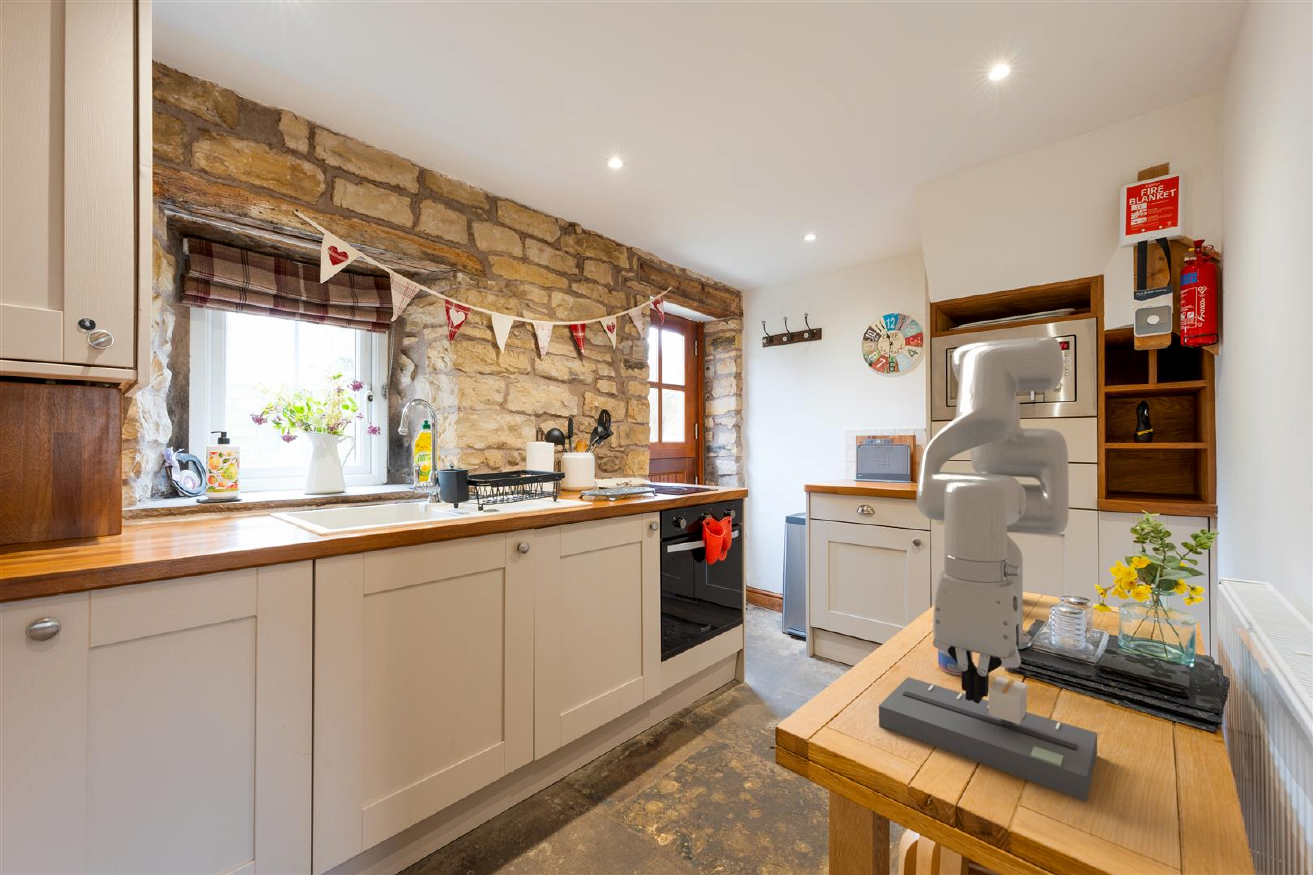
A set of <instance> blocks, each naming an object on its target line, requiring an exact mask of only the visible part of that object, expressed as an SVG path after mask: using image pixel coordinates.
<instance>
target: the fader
mask: <svg viewBox="0 0 1313 875" xmlns="http://www.w3.org/2000/svg"><path fill="white" fill-rule="evenodd" d="M988 701H989V715H991V716H994V717H997V718H1000V719H1001V723H1002V724H1005V725H1008V726H1011V727H1013V726H1014V724H1015V723H1016V724H1020V723H1021V721H1022V719H1023V716H1024V714H1025V712H1027V710H1028V684H1027V683H1025V682H1022V681H1021V682H1020V681H1017V680H1015V679H1012V678H1007V677H1003V676H998V675H997V676H996V677H995V679H994V681H993V682H992V684H991V685H990V686H989V691H988Z"/></svg>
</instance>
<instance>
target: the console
mask: <svg viewBox="0 0 1313 875" xmlns="http://www.w3.org/2000/svg"><path fill="white" fill-rule="evenodd" d="M878 726H879V727H881V728H884V729H887V730H890V731H893V732H895V733H897V734H899V735H902V736H906V737H908V738H910V739H914V740H916V741H919V742H923V743H925V744H927V745H930V746H933V747H936V748H938V749H940V750H944V751H947V752H949V753H952V754H954V755H958V756H960V757H962V758H965V759H968V760H971V761H974V762H976V763H979V764H982V765H984V766H986V767H987V766H988V767H991V768H993V769H996V770H998V771H1002V772H1004V773H1007V774H1009V775H1012V776H1015V777H1017V778H1019V779H1020V778H1021V779H1022V780H1026V781H1028V782H1031V783H1034V784H1036V785H1039V786H1041V787H1044V788H1047V789H1051V790H1053V791H1056V792H1058V793H1060V794H1064V795H1067V796H1069V797H1071V798H1075V799H1078V800H1080V801H1083V802H1085V803H1087V802H1088V798H1089V794H1090V793H1089V792H1090V788H1091V783H1092V779H1093V774H1094V770H1095V765H1096V761H1097V757H1098V732H1096V731H1093V730H1090V729H1085V728H1081V727H1078V726H1076V725H1072V724H1068V723H1065V722H1062V721H1058V720H1055V719H1051V718H1048V717H1044V716H1042V715H1038V714H1034V713H1031V712H1028V711H1026V712H1025V714H1024V716H1023V719H1022V721H1021V723H1020V724H1016V723H1015V724H1014V726H1013V727H1011V726H1008V725H1005V724H1002V723H1001V719H1000V718H997V717H994V716H991V715H989V699H988V700H987V699H982V700H981V701H980V703H979V704H978V703H975V702H974V701H973V700H971V701H968V700H966V693H964V692H960V691H958V690H957V691H956V690H953V689H950V688H946V687H943V686H940V685H936V684H933V683H931V682H930V683H929V682H926V681H923V680H920V679H915V678H914V677H913V678H912V677H911V676H910V677H909V676H907V677H906V678H904V680H903V681H902V682H901V683H900V684H899V685H898V686H897V687H896V688H895V689H894V690H893V691H892V692H891V693H890V694H889V695H888V696H887V697H886V698H885V699H884V700H883V701H882V702H881V703H880V704H879V705H878Z"/></svg>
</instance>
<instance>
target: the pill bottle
mask: <svg viewBox="0 0 1313 875" xmlns="http://www.w3.org/2000/svg"><path fill="white" fill-rule="evenodd" d="M971 652H972V651H971ZM972 653H973V652H972ZM937 656H938V658H937V660H938V661H937V663H938V667H939V669H940V670H942V671H943V672H945V673H947V674H950V675H954V676H962V670H960V669H959V667H958V664H957V663H956V661H955V660H954V659H953V658H952V657H951V656H950V654H949V653H947V652H944V651H942V650H940V649H938V648H937Z"/></svg>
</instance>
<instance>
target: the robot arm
mask: <svg viewBox="0 0 1313 875" xmlns="http://www.w3.org/2000/svg"><path fill="white" fill-rule="evenodd" d="M1063 354H1064V353H1063V350H1062V346H1061V343H1060V342H1059V340H1058V339H1057V338H1055V337H1054V336H1035V337H1034V336H1033V337H1024V338H1023V337H1021V338H1011V339H1009V338H1008V339H996V340H995V339H994V340H993V339H992V340H986V341H985V340H984V341H976V342H970V343H967V344H963V345H960V346H958V347H957V348H956V349H954V351H953V353H952V355H951V366H952V372H953V373H954V377H955V379H956V381H957V383H958V386H957V388H958V389H957V399H956V409H955V418H953V419H952V420H951V421H949V422H948V423H946V424H945V425H944V426H943V427H942V428H941V429H939V430H938V432H936V433H935V434H934V435H933V437H932V438H931V439H930V440H929V441H928V442H927V445H926V446H925V448H924V450H923V451H922V453H921V454H922V455H921V457H920V462H919V470H918V478H917V485H916V504H917V507H918V510H919V512H920V513H921V514H922V515H923V516H924V517H926V518H928V519H930V520H935V521H941V522H942V521H943V522H944V524H943V525H944V527H943V528H944V533H943V534H944V543H943V544H944V548H943V549H944V570H943V571H941V572H940V573H939V577H938V580H937V586H936V591H935V598H934V607H933V616H932V617H933V618H932V621H933V622H932V630H933V631H932V634H933V637H934V638H933V641H932V646H933V647H934V648H936V649H937V650H938V649H940V650H942V651H944V652H947V653H949V654H950V656H951V657H952V658H953V659H954V660H955V661H956V663H957V664H958V667H959V669H960V670H962V675H961V691H965V694H966V700H968V701H971V700H973V701H974V702H975V703H978V704H979V703H980V701H981V700H982V699H983V698H987V697H989V688H990V686H989V682H990V681H989V680H990V679H989V675H990V673H991V672H993V671H995V670H997V669H998V668H1012V669H1013V668H1014V669H1017V668H1019V667H1020V666H1021V663H1022V661H1021V657H1020V656H1021V655H1020V652H1019V650H1018V649H1019V647H1020V643H1022V642H1029V639H1030V638H1032V636H1031V635H1030V634H1028V633H1027V632H1026V631H1024V630H1023V627H1024V626H1023V625H1024V620H1023V618H1024V617H1023V615H1024V614H1023V613H1024V610H1023V609H1024V605H1023V604H1024V599H1023V598H1024V597H1023V596H1024V592H1023V591H1024V588H1023V587H1024V585H1023V582H1024V581H1023V580H1024V558H1023V554H1022V550H1021V549H1020V548H1019V546H1018V545H1017V543H1016V542H1015V540H1013V539H1012V538H1011V537H1010V535H1008V533H1025V534H1037V535H1054V536H1055V535H1059V534H1061V533H1063V532H1064V531H1065V529H1067V526H1068V521H1069V512H1070V511H1069V509H1070V508H1069V507H1070V506H1069V503H1070V502H1069V452H1068V445H1067V441H1066V439H1065V437H1064V435H1063V434H1062V433H1061V432H1060V431H1058V430H1055V429H1051V428H1023V427H1022V426H1021V405H1020V402H1019V400H1018V398H1017V392H1018V393H1020V392H1021V393H1022V392H1023V393H1024V392H1026V393H1027V392H1046V391H1048V392H1049V391H1052V390H1056V389H1057V387H1058V386H1059V385H1060V383H1061V381H1062V378H1063V374H1064V368H1065V367H1064V355H1063ZM968 450H969V452H970V453H969V454H970V464H971V468H972V469H973V470H974V471H975V473H974V472H951V471H945V472H944V471H943V472H942V471H941V470H942V467H943V466H944V465H945V463H946V462H947V461H948V460H950V459H952V458H953V457H955V456H956V455H958V454H962V453H963V452H966V451H968ZM1017 478H1027V479H1028V478H1031V479H1034V480H1037V481H1038V482H1039V483H1040V484H1031V483H1020V482H1019V480H1017ZM971 651H972V652H971ZM973 653H977V654H979V658H978V662H977V666H976V665H975V662H974V659H973Z"/></svg>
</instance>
